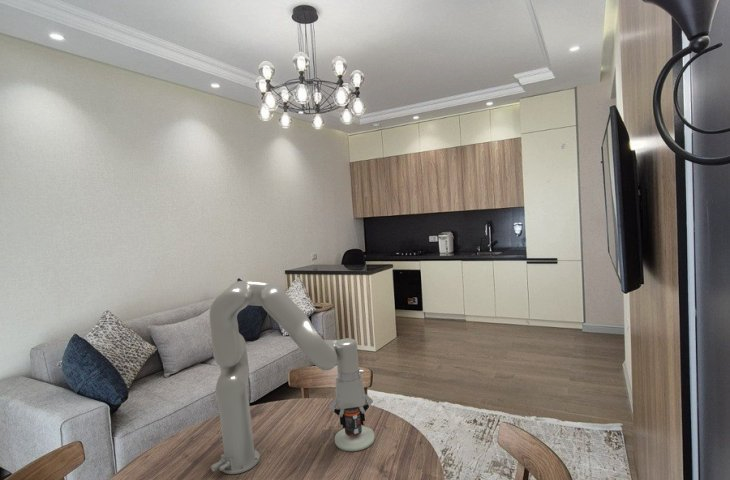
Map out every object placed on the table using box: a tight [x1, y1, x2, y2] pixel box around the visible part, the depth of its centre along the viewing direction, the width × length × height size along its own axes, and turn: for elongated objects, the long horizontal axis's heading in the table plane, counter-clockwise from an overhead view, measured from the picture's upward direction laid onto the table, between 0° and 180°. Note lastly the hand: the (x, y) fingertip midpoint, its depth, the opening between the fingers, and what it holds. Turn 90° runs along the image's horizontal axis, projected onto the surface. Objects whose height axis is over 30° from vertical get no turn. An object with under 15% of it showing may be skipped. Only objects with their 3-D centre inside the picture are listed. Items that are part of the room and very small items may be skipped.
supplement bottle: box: [343, 407, 362, 436], centre depth 140 cm, size 6×6×11 cm
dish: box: [334, 425, 375, 452], centre depth 141 cm, size 14×14×2 cm
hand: (352, 424), depth 141 cm, fingers closed on supplement bottle, 5 cm apart
